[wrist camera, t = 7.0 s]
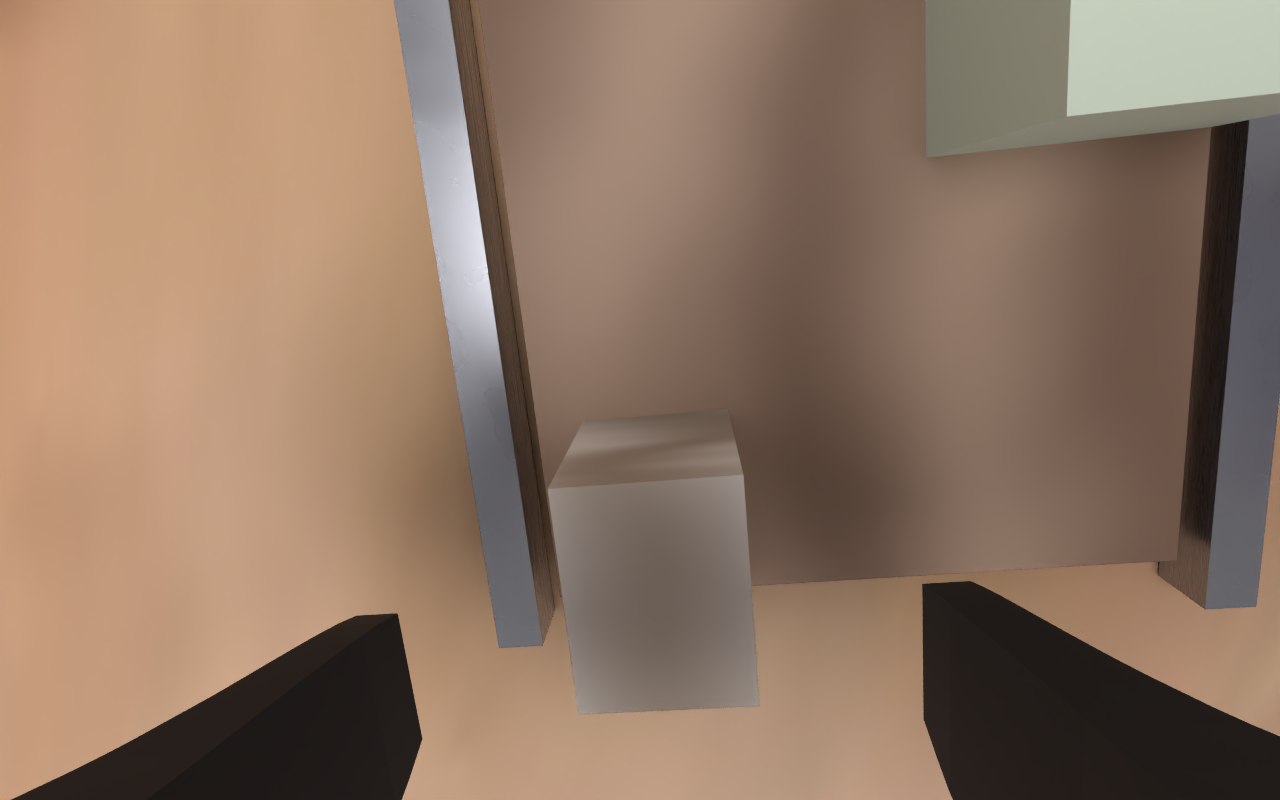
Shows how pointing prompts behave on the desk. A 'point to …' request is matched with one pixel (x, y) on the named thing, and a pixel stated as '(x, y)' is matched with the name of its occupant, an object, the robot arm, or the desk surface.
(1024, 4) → the cube
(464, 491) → the desk surface
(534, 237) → the shallow tray
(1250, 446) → the guide rails
